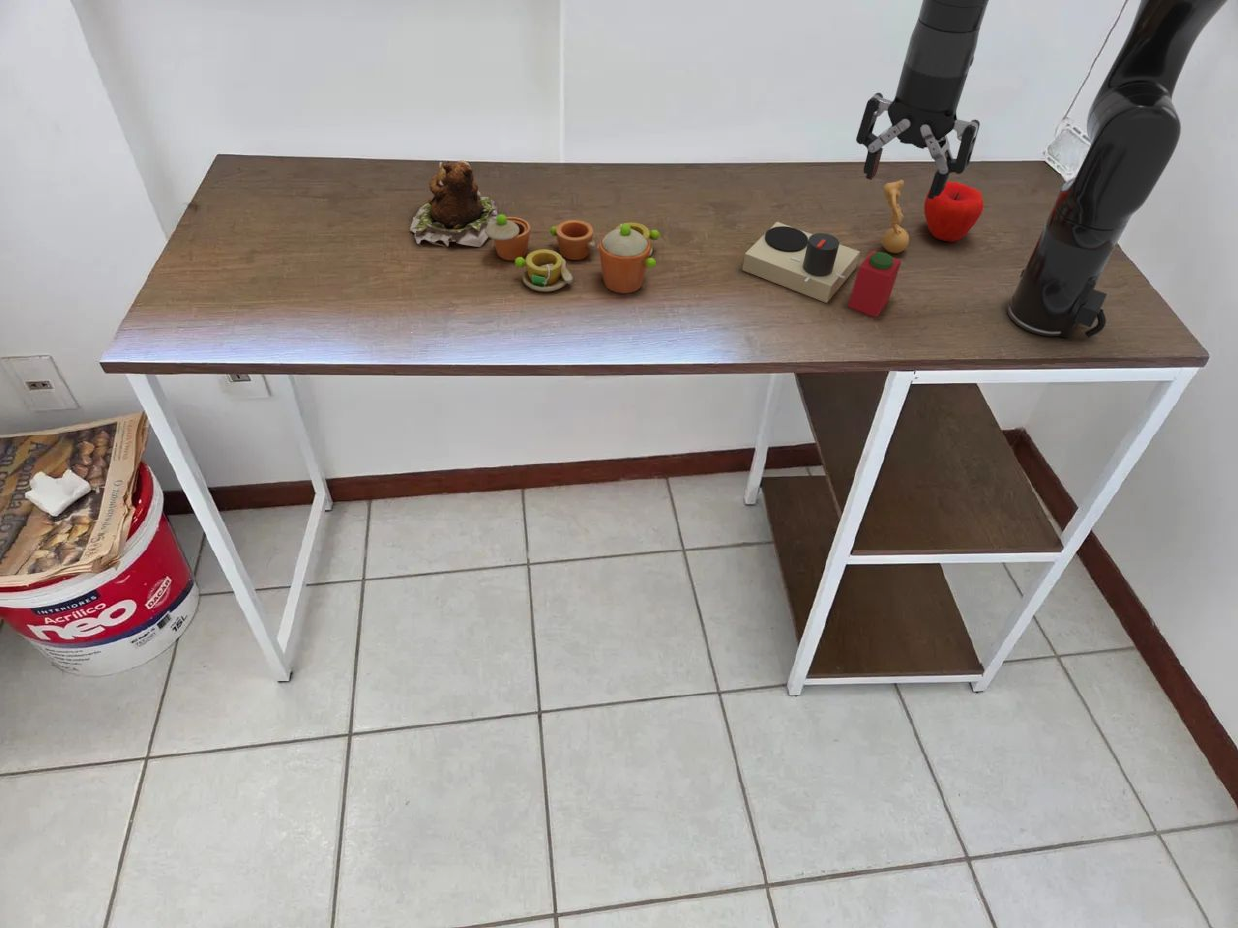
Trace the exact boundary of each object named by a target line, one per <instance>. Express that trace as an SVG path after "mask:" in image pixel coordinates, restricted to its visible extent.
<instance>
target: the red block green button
mask: <svg viewBox="0 0 1238 928" xmlns="http://www.w3.org/2000/svg"><path fill="white" fill-rule="evenodd" d="M901 263H902V260H901V259H899V258H896V257H893V256H892V255H891V254H888V253H887V252H882V251H876V250H871V251H870V252H869V254H868V255H867V256H866V258H865V259H864V260H863V262H861V264H860V265H859V266H858V270H857V274H856V278H855V281H854V285H853V288H852V292H851V295H850V298H849V302H848V305H847V306H848V308H851V309H853V310H856V311H859V312H861V313H863V314H866V315H869V316H871V317H873V318H878V316H879V315H880V313H881V312H882V311H883V309H884V308H885V306H886V305H887V303H889V300H890V298H891V295H892V292H893V289H894V285H895V282H896V279H897V276H898V273H899V269H900V266H901Z"/></svg>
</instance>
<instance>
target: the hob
mask: <svg viewBox="0 0 1238 928" xmlns="http://www.w3.org/2000/svg"><path fill="white" fill-rule="evenodd" d="M779 226H786V227H792V228H794V227H793V226H791V225H788V224H784V223H782V222H779V221H776V222H775V223H774V224H773V225H772V226H771V227H770V228H769V229H771V228H774V227H779ZM797 229H798V230H800V231H802V232H803V233H804V234H806V236H807V237H808V240H809V237H810V236H811V235H813V234H814V233H810V232H807V231H804V230H801V229H799V228H797ZM765 234H766V232H765V233H764V234H763V235H762V236H761V237H760V238H759V239H757V241H756V242H755V243H754V244H753V245H752V246H751V247H750V248H749V249H748V250H747V251H745V253H744V257H743V262H742V263H743V264H742V270H741V271H743V272H746V273H748V274H751V275H754V276H755V277H759V278H761V279H763V280H767V281H769V282H772V283H775V284H776V285H780V286H782V287H784V288H787V289H789V290H792V291H795V292H798V293H800V294H803V295H805V296H807V297H810V298H813V299H815V300H818V301H821V302H823V303H826V304H828V302H829V301H830V300H831V299H832V298H833V296H834V295H835V294H836V293H837V292H838V290H839V289H840V288H841V286H842V285H843V284H844V283H845V282H846V281H847V279H848V278H849V277H850V276H851V275H852V273H853V272H854V271H855V270H856V268H857V265H858V262H859V258H860V254H861V251H860V250H857V249H855V248H851V247H848V246H846V245H843V244H840V243H839V248H838V252H837V255H836V259H835V263H834V267H833V271H832V273H831V274H829V275H827V276H814V275H811V274H809V273H807V272H806V271H805V270H804V269H803V262H804V257H805V253H806V249H807V247H806V248H805V249H803V250H801V251H798V252H783V251H779V250H776V249H774V248H772V247H770V246H769V245H768V244H767V243H766V241H765Z"/></svg>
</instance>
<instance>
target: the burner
mask: <svg viewBox="0 0 1238 928" xmlns="http://www.w3.org/2000/svg"><path fill="white" fill-rule="evenodd" d="M792 227H793V226H790V227H786V226H779V227H774V228H771V227H770V228H771V229H770V228H769V229H768V230H767V231H766V232H765V233H766V234H765V233H764V234H765V241H766V243H767V244H768V245H769V246H770V247H772V248H774V249H776V250H779V251H783V252H798V251H801V250H803V249H805V248H806V247H807V244H808V237H807V236H806V234H804V233H803V232H802V231H803V230H802V231H800V230H801V229H799V228H797V227H796V228H795V227H793V228H792ZM798 229H799V230H798Z"/></svg>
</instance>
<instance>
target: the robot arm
mask: <svg viewBox="0 0 1238 928" xmlns="http://www.w3.org/2000/svg"><path fill="white" fill-rule="evenodd" d="M989 1H990V0H922V3H921V5H920V9H919V13H918V17H917V20H916V23H915V25H914V27H913V30H912V33H911V35H910V38H909V42H908V46H907V49H906V54H905V58H904V62H903V64H902V65H903V66H902V69H901V73H900V77H899V80H898V85H897V88H896V91H895V96H894V98H893V100H890V99H887V98H884V96H883V95H884V94H883V93H881V92H876V93H875V94H873V95H872V97H871V98H869V99H868V100H867V102H866V105H865V108H864V111H863V115H862V117H861V118H862V119H861V121H860V125H859V128H858V131H857V134H856V138H855V141H856V143H857V144H859V145H863V146H864V147H866V149H867V154H866V157H865V162H864V166H863V174H866V176H865V179H867V180H870V181H872V180H873V179H874V178H875V177H876V175H877V172H878V169H879V165H880V162H881V158H882V154H883V150H884V148H883V147H884V146H885V145H887V144H888V143H889V142H891V141H892V140H894V139H895V138H897V140H899V143H902V144H905V145H913V146H915V147H916V148H918V149H922V150H924V149H925V148H927V149H928V152H929V155H930V158H931V159H932V160H934V162H935V165H936V167H937V170H936V172H935V173H934V176H933V179H932V182H931V186H930V188H929V190H930V192H929V191H928V192H929V195H928V198H930V199H934V198H935V196H939V195H940V194H941V193H942V191H943V190H944V189H945V186H946V182H947V181H948V180H949V177H950V174H951V173H955V174H958V175H960V174H962V173H963V172H964V171H965V169H966V168H967V167H968V166H969V165H970V161H971V159H972V155H973V151H974V147H975V144H976V140H977V137H978V134H979V130H980V127H981V126H980V125H981V124H980V121H979V120H978V119H972V120H971V121H966V120H963V119H958V116H957V110H958V106H959V103H960V100H961V96H962V94H963V90H964V87H965V84H966V81H967V79H968V75H969V72H970V70H971V69H970V68H971V67H972V65H973V62H974V59H975V53H976V50H977V45H978V40H979V35H980V30H981V26H982V23H983V20H984V17H985V14H986V11H987V7H988V5H989ZM1228 1H1229V0H1140V1H1139V4H1138V8H1137V10H1136V13H1135V15H1134V19H1133V21H1132V24H1131V27H1130V29H1129V31H1128V34H1127V36H1126V38H1125V41H1124V42H1123V45H1122V46H1121V48H1120V50H1119V52H1118V54H1117V56H1116V57H1115V60H1114V61H1113V63H1112V65H1111V67H1110V69H1109V71H1108V73H1107V75H1106V76H1105V78H1104V80H1103V82H1102V84H1101V86H1100V87H1099V89H1098V91H1097V93H1096V94H1095V97H1094V99H1093V101H1092V103H1091V105H1090V108H1089V109H1088V114H1087V116H1086V117H1087V118H1086V131H1087V132H1086V133H1087V137H1088V140H1089V144H1090V145H1089V148H1088V150H1087V152H1086V155H1085V157H1084V159H1083V161H1082V163H1081V165H1080V168H1078V169H1079V170H1078V172H1077V173H1076V175H1075V177H1073V178H1070V179H1068V180H1067V181H1066V182H1065V183H1064V184H1063V185H1062V187H1061V188H1060V190H1059V193H1058V195H1057V198H1056V199H1055V202H1054V204H1053V206H1052V209H1051V210H1050V213H1049V215H1048V218H1047V220H1046V222H1045V224H1044V227H1043V228H1042V231H1041V233H1040V235H1039V237H1038V239H1037V241H1036V244H1035V246H1034V249H1033V250H1032V253H1031V254H1030V256H1029V257H1030V258H1029V259H1028V262H1027V264H1026V266H1025V268H1024V269H1022V271H1021V273H1020V276H1019V278H1020V279H1019V282H1018V284H1017V286H1016V288H1015V291H1014V292H1013V294H1012V297H1011V299H1010V300H1009V302H1008V305H1007V307H1006V308H1007V309H1006V311H1007V314H1008V316H1009V318H1010V319H1011V320H1012V321H1013V322H1014V323H1015V324H1016V326H1019V327H1020V328H1022V329H1023V330H1026V331H1028V332H1030V333H1032V334H1036V335H1039V336H1044V337H1061V338H1064V339H1069V337H1070V335H1071V333H1072V330H1074V328H1075V325H1076V323H1077V324H1080V325H1083V326H1085V327H1089V329H1088V330H1086V331H1085V332H1084V335H1085V337H1087V338H1088V339H1089V338H1091V337H1093V336H1095V335H1097V334H1099V333H1100V332H1101V331H1102V330H1103V329H1104V328H1105V326H1106V323H1107V317H1106V314H1105V312H1104V309H1102V306H1103V304H1104V303H1105V300H1106V298H1107V296H1108V293H1105V292H1102V291H1100V290H1097V289H1095V287H1096V285H1097V283H1098V281H1099V279H1100V277H1101V275H1102V273H1103V271H1104V269H1105V267H1106V266H1107V263H1108V261H1109V260H1110V257H1111V256H1112V253H1113V251H1114V250H1115V247H1116V246H1117V244H1118V242H1119V240H1120V238H1121V237H1122V235H1123V232H1124V231H1125V229H1126V227H1127V225H1128V223H1129V221H1130V220H1131V218H1132V216H1133V215H1134V214H1135V213H1136V212H1138V210H1140V209H1141V208H1142V207H1143V206H1144V204H1145V203H1146V202H1147V200H1148V198H1149V197H1150V195H1151V194H1152V191H1153V190H1154V188H1155V187H1156V186H1157V183H1158V182H1159V180H1160V178H1161V176H1162V175H1163V173H1164V171H1165V169H1166V168H1167V166H1168V164H1169V162H1170V160H1171V158H1172V157H1173V155H1174V153H1175V150H1176V148H1177V147H1178V143H1179V141H1180V137H1181V133H1182V125H1181V119H1180V117H1179V113H1178V112H1177V109H1176V107H1175V106H1174V103H1173V96H1174V92H1175V89H1176V85H1177V83H1178V80H1179V78H1180V75H1181V72H1182V70H1183V68H1184V66H1185V64H1186V61H1187V58H1188V56H1189V54H1190V52H1191V50H1192V48H1193V46H1194V44H1195V43H1196V41H1197V39H1198V37H1199V36H1200V35H1201V33H1202V32H1203V30H1204V29H1205V27H1207V25H1208V24H1209V23H1210V22H1211V20H1212V19H1213V18H1214V17H1215V16H1216V14H1217V13H1218V12H1219V11H1220V10H1221V9H1222V8H1223V7H1224V5H1226V3H1228ZM886 111H887V115H888V118H889V121H890V125H889V127H888V128H886V129H885V130H884V131H883V132H882V133H880V134H879V135H878V136H877V135H876V134H874V133H873V132H874V129H875V125H876V122H877V119H878V117H881V115H883V113H884V112H886ZM952 131H955V132H956V138H957V139H958V141H960V143H959V148H958V151H957V156H956V158H954V157H953V155H952V152H951V147H950V146H951V145H950V140H949V139H948V136H947V135H948V134H949V133H951V132H952ZM1096 318H1097V323H1096V325H1095V326H1094V327H1092V326H1093V325H1094V322H1095V321H1096Z"/></svg>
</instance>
